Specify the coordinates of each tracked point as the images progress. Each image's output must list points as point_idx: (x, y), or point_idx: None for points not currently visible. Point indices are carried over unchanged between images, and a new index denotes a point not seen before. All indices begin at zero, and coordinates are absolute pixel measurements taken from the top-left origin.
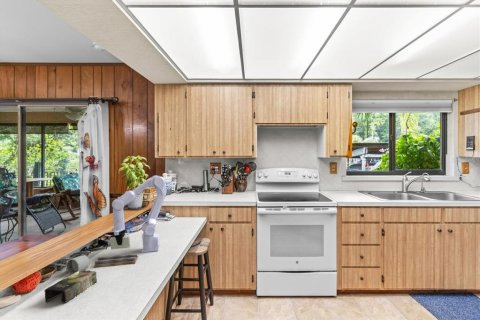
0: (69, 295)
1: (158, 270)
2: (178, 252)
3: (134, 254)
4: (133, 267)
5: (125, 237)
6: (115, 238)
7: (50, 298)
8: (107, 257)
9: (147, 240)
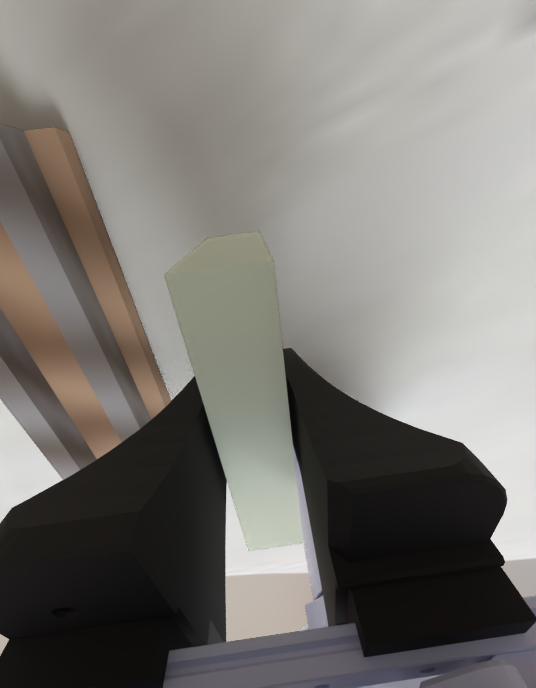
0: None
1: None
2: (252, 570)
3: None
4: (11, 475)
5: (249, 521)
6: (136, 432)
7: None
8: (26, 267)
9: (306, 558)
